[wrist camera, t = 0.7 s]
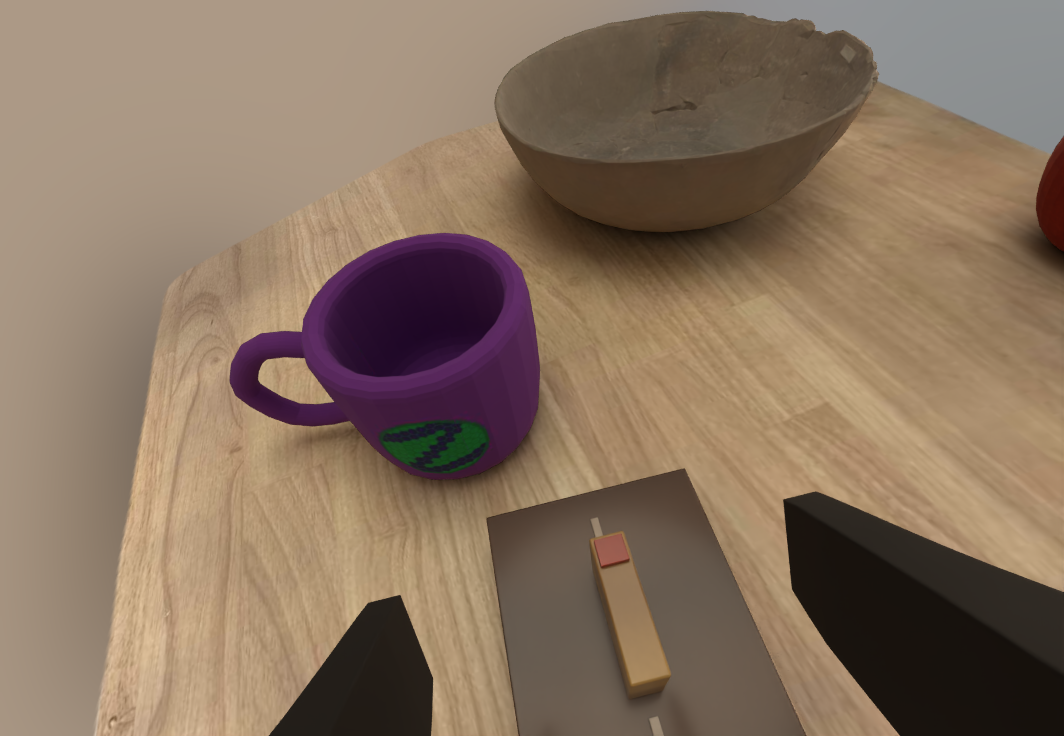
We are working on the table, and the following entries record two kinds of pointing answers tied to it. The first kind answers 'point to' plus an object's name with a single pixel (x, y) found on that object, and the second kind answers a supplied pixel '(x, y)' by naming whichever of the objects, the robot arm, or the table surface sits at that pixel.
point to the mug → (415, 355)
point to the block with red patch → (628, 616)
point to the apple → (1052, 198)
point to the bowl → (682, 115)
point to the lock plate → (676, 607)
